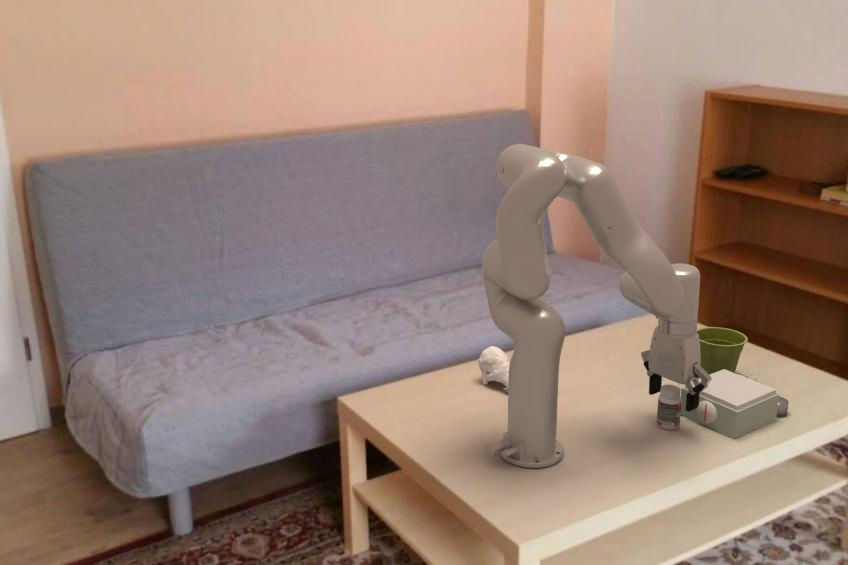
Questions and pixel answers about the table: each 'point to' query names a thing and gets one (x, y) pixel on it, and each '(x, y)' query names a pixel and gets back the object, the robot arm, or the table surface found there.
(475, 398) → the table surface
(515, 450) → the robot arm
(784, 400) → the spacer
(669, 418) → the pill bottle
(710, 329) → the plant pot
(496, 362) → the white lumpy rounded piece
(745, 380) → the scale
